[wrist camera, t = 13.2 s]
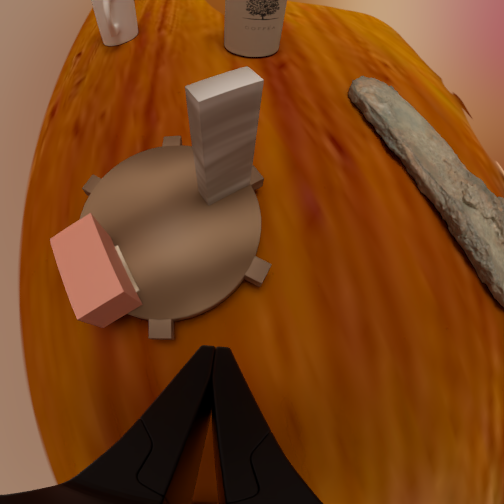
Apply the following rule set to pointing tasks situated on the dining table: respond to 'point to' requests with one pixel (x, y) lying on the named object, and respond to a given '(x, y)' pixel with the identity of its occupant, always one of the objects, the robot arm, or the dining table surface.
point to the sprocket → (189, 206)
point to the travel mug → (253, 26)
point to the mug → (116, 20)
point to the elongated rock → (439, 178)
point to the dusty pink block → (93, 273)
